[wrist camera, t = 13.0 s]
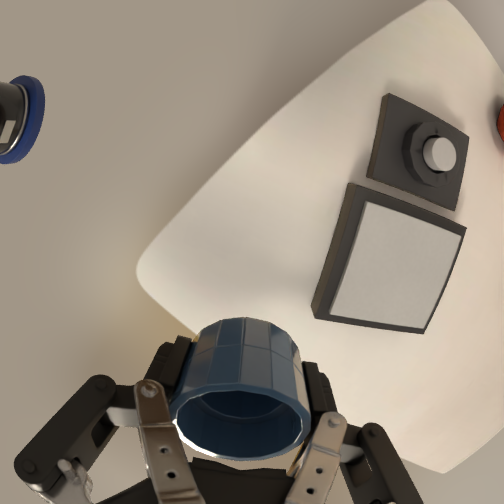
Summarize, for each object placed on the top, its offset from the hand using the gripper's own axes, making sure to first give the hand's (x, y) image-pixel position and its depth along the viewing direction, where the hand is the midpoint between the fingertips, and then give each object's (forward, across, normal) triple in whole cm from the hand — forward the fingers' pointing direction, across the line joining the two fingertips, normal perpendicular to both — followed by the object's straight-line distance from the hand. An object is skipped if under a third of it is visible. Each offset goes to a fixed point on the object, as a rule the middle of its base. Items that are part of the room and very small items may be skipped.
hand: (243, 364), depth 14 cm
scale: (+12, -13, -4) cm, 18 cm away
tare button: (+9, -13, -15) cm, 22 cm away
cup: (+1, 0, 0) cm, 1 cm away
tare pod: (+12, -13, -15) cm, 23 cm away
